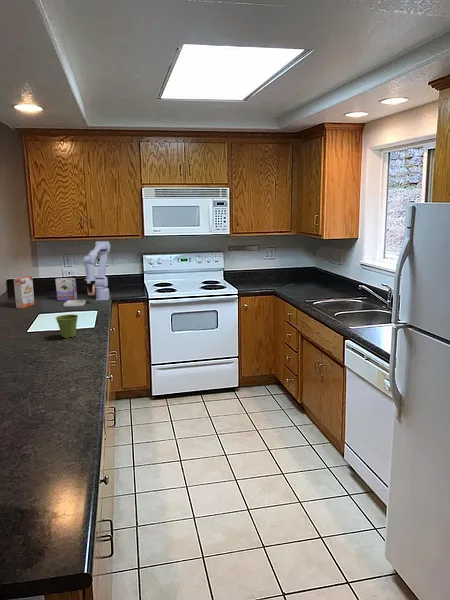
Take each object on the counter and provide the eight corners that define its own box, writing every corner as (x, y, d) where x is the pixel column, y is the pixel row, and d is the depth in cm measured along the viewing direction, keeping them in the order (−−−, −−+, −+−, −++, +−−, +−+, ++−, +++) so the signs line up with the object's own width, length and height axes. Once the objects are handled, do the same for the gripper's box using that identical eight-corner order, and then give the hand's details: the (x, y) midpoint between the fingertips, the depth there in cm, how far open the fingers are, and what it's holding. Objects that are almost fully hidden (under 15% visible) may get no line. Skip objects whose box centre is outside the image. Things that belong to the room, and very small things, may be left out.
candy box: (77, 299, 371) (75, 277, 368) (74, 300, 365) (72, 278, 362) (60, 299, 372) (58, 277, 369) (56, 300, 367) (54, 279, 363)
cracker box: (23, 308, 340) (20, 279, 336) (16, 308, 342) (12, 278, 337) (35, 304, 354) (32, 276, 350) (27, 304, 355) (24, 275, 351)
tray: (86, 302, 359) (86, 299, 358) (82, 306, 346) (82, 303, 346) (68, 302, 358) (67, 300, 357) (63, 306, 345) (63, 303, 345)
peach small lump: (95, 293, 354) (95, 284, 353) (94, 295, 349) (93, 285, 348) (88, 294, 354) (87, 284, 352) (87, 295, 349) (86, 285, 347)
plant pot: (71, 332, 275) (70, 313, 273) (84, 336, 268) (82, 316, 265) (52, 337, 266) (50, 317, 264) (65, 341, 259) (63, 320, 257)
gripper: (86, 271, 355) (87, 290, 358) (82, 274, 341) (83, 293, 344) (96, 271, 356) (97, 289, 358) (92, 274, 341) (93, 293, 344)
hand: (91, 291), depth 351 cm, fingers closed on peach small lump, 5 cm apart
